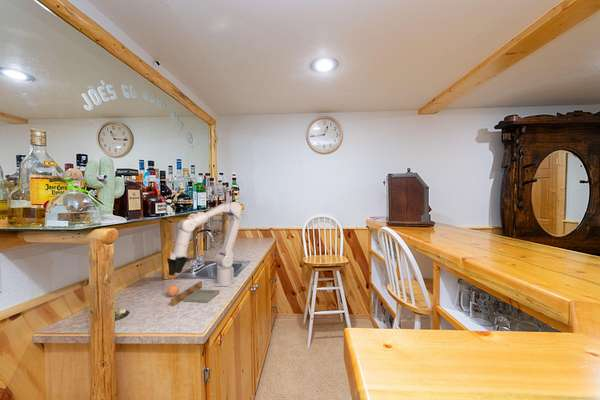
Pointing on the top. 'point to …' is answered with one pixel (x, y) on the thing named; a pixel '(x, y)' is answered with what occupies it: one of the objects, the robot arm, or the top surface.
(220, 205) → the robot arm
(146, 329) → the top surface
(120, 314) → the log
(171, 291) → the ball
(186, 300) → the tray
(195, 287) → the wooden plank
